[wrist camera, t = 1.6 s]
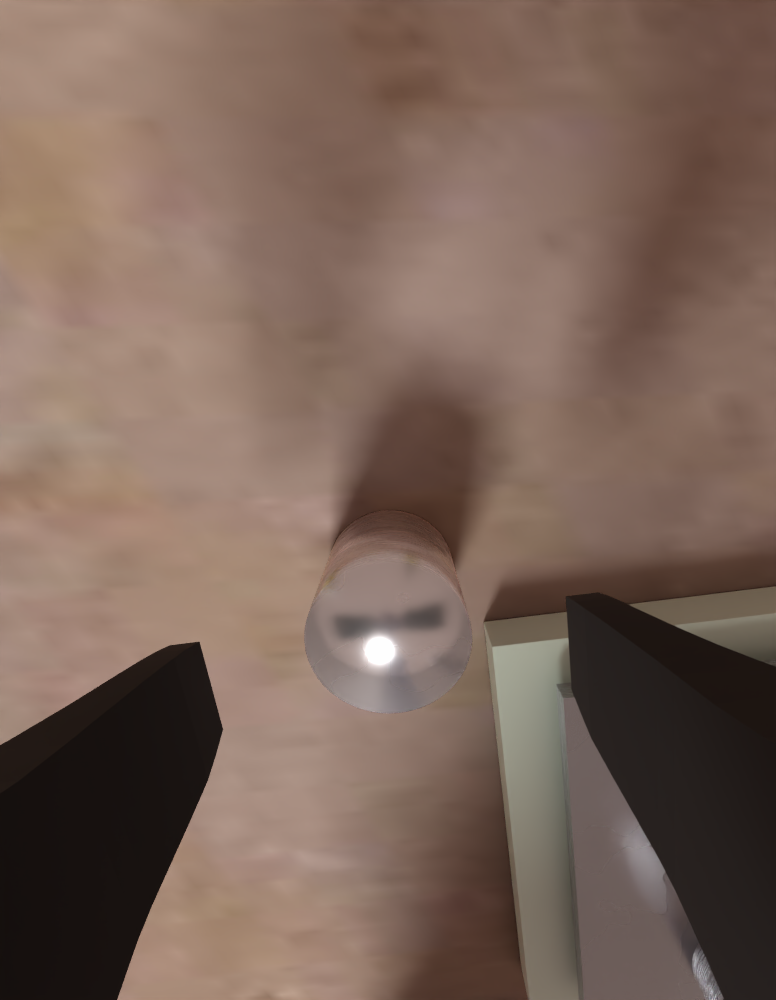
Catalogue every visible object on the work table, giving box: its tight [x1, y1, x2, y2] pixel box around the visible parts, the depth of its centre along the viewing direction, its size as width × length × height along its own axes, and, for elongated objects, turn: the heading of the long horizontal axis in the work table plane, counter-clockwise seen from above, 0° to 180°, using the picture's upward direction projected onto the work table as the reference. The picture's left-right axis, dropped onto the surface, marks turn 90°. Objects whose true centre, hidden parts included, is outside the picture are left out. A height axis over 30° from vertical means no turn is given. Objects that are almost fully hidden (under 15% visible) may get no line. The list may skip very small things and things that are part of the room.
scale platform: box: [556, 659, 776, 1000], centre depth 15 cm, size 12×10×2 cm
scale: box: [484, 586, 776, 1000], centre depth 16 cm, size 14×14×2 cm
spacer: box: [304, 510, 472, 713], centre depth 13 cm, size 4×4×4 cm
